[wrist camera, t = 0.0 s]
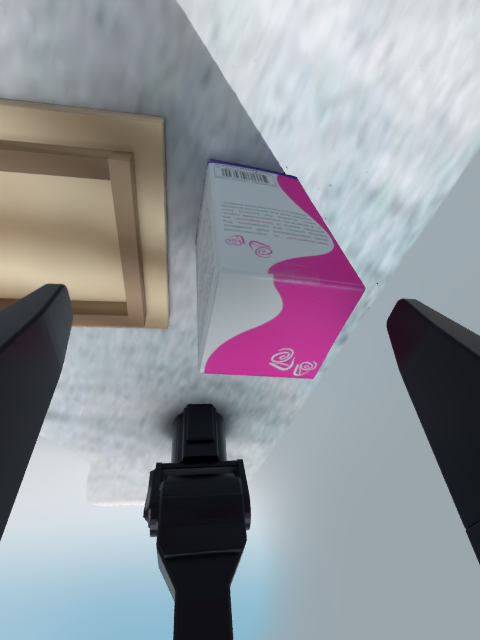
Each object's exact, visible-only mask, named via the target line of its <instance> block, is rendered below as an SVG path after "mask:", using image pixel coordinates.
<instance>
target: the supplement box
mask: <svg viewBox="0 0 480 640" xmlns="http://www.w3.org/2000/svg"><path fill="white" fill-rule="evenodd" d="M195 244H196V273H197V276H196V277H197V322H198V369H199V373H210V374H230V375H251V376H270V377H288V378H308V379H313V378H314V377H315V375H316V374H317V372H318V370H319V369H320V367H321V365H322V363H323V361H324V360H325V358H326V356H327V354H328V352H329V350H330V348H331V347H332V345H333V343H334V341H335V340H336V338H337V336H338V335H339V333H340V331H341V330H342V328H343V326H344V325H345V323H346V321H347V320H348V318H349V316H350V315H351V313H352V311H353V310H354V308H355V306H356V305H357V303H358V302H359V300H360V298H361V297H362V295H363V293H364V291H365V286H364V285H363V283H362V281H361V280H360V278H359V277H358V275H357V273H356V272H355V270H354V269H353V267H352V266H351V264H350V263H349V261H348V259H347V258H346V256H345V255H344V253H343V251H342V250H341V248H340V247H339V245H338V243H337V242H336V240H335V239H334V237H333V235H332V234H331V232H330V230H329V229H328V227H327V226H326V224H325V222H324V221H323V219H322V218H321V216H320V214H319V213H318V211H317V210H316V208H315V206H314V205H313V203H312V202H311V200H310V198H309V197H308V195H307V194H306V192H305V190H304V189H303V187H302V185H301V184H300V182H299V180H298V179H297V177H295V176H291V175H287V174H282V173H278V172H273V171H268V170H263V169H258V168H253V167H248V166H243V165H238V164H232V163H227V162H221V161H216V160H211V159H209V160H208V163H207V169H206V176H205V182H204V189H203V195H202V201H201V208H200V215H199V221H198V228H197V235H196V243H195Z"/></svg>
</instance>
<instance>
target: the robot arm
mask: <svg viewBox="0 0 480 640" xmlns="http://www.w3.org/2000/svg"><path fill="white" fill-rule="evenodd" d="M72 322H73V308H72V304H71V300H70V296H69V292H68V289H67V287H66V286H65V285H64V284H52V283H48V284H45V285H43V286H42V287H40V288H38V289H36V290H35V291H33V292H31V293H30V294H28V295H26V296H25V297H23V298H21V299H20V300H18V301H16V302H14V303H13V304H11V305H9V306H8V307H6V308H4V309H3V310H1V311H0V540H1V538H2V535H3V532H4V529H5V526H6V524H7V521H8V518H9V516H10V513H11V510H12V507H13V504H14V502H15V499H16V496H17V493H18V491H19V488H20V485H21V482H22V480H23V477H24V474H25V471H26V468H27V465H28V463H29V460H30V458H31V455H32V452H33V449H34V446H35V444H36V441H37V438H38V435H39V433H40V430H41V427H42V424H43V422H44V419H45V416H46V413H47V410H48V408H49V405H50V402H51V399H52V397H53V394H54V391H55V388H56V386H57V383H58V380H59V377H60V374H61V371H62V367H63V363H64V359H65V354H66V350H67V345H68V340H69V336H70V331H71V326H72ZM387 331H388V334H389V337H390V341H391V344H392V348H393V351H394V354H395V358H396V361H397V365H398V368H399V371H400V373H401V376H402V378H403V381H404V383H405V386H406V388H407V391H408V393H409V396H410V398H411V400H412V403H413V405H414V408H415V410H416V412H417V415H418V417H419V419H420V422H421V424H422V427H423V429H424V431H425V434H426V436H427V439H428V441H429V443H430V446H431V448H432V451H433V453H434V455H435V458H436V460H437V462H438V465H439V467H440V470H441V472H442V475H443V477H444V479H445V482H446V484H447V487H448V489H449V491H450V494H451V496H452V499H453V501H454V503H455V506H456V508H457V511H458V513H459V515H460V518H461V520H462V523H463V525H464V527H465V528H466V533H467V535H468V538H469V540H470V542H471V545H472V547H473V550H474V552H475V554H476V557H477V559H478V562H479V564H480V336H479V335H477V334H475V333H474V332H472V331H470V330H468V329H467V328H465V327H463V326H461V325H460V324H458V323H456V322H454V321H453V320H451V319H449V318H447V317H446V316H444V315H442V314H440V313H439V312H437V311H435V310H433V309H431V308H430V307H428V306H426V305H424V304H423V303H421V302H419V301H417V300H415V299H400V300H399V301H398V302H397V303H396V305H395V307H394V308H393V310H392V312H391V314H390V316H389V318H388V320H387ZM143 517H144V518H145V520H146V521H147V522H148V527H149V528H150V536H151V537H157V544H156V545H157V555H158V564H159V569H160V571H161V573H162V575H163V578H164V580H165V582H166V584H167V586H168V588H169V591H170V593H171V595H172V597H173V599H174V601H175V609H174V636H173V640H233V628H232V613H231V597H230V586H231V583H232V580H233V578H234V575H235V573H236V570H237V567H238V565H239V562H240V559H241V556H242V553H243V550H244V547H245V544H246V541H247V536H246V530H249V529H250V522H251V507H250V496H249V490H248V485H247V480H246V475H245V469H244V464H243V459H237V460H234V461H227V455H226V441H225V427H224V419H223V417H222V416H221V415H220V414H219V413H217V412H216V408H215V407H213V405H212V404H189V405H187V408H185V409H184V412H183V413H182V414H180V415H178V416H177V417H176V418H175V420H174V423H173V440H172V458H171V463H156V469H155V470H153V471H151V472H150V478H149V487H148V493H147V498H146V502H145V507H144V516H143Z"/></svg>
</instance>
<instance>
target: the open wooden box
mask: <svg viewBox="0 0 480 640" xmlns="http://www.w3.org/2000/svg"><path fill="white" fill-rule="evenodd" d="M48 283H52V284H64V285H65V286H66V287H67V289H68V292H69V296H70V300H71V304H72V308H73V322H72V326H71V327H110V328H163V329H168V323H169V291H168V253H167V214H166V176H165V138H164V117H159V116H151V115H142V114H133V113H124V112H115V111H107V110H98V109H89V108H80V107H72V106H63V105H54V104H45V103H36V102H28V101H19V100H10V99H1V98H0V311H1V310H3V309H4V308H6V307H8V306H9V305H11V304H13V303H14V302H16V301H18V300H20V299H21V298H23V297H25V296H26V295H28V294H30V293H31V292H33V291H35V290H36V289H38V288H40V287H42V286H43V285H45V284H48Z"/></svg>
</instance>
